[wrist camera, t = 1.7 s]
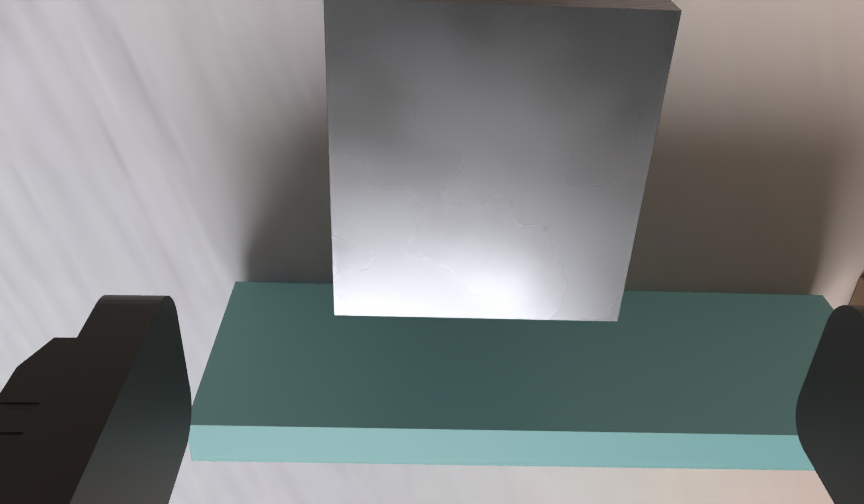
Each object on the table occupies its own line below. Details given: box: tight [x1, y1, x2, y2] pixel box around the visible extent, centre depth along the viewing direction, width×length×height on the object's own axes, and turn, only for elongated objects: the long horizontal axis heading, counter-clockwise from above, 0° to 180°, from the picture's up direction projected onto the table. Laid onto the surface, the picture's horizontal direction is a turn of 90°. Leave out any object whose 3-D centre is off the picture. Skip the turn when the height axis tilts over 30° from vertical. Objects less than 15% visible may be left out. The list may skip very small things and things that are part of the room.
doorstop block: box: [324, 0, 681, 321], centre depth 17 cm, size 6×6×8 cm
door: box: [188, 282, 834, 470], centre depth 22 cm, size 18×1×6 cm, turn 88°
